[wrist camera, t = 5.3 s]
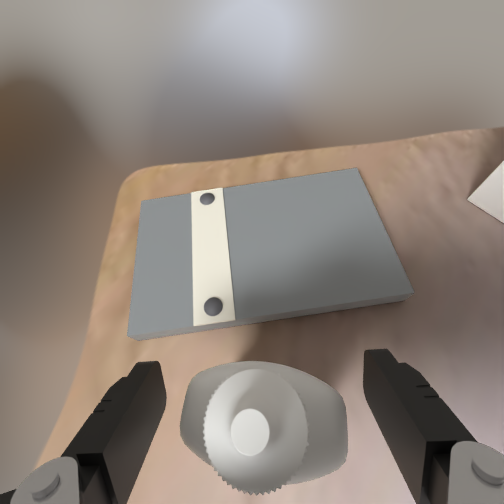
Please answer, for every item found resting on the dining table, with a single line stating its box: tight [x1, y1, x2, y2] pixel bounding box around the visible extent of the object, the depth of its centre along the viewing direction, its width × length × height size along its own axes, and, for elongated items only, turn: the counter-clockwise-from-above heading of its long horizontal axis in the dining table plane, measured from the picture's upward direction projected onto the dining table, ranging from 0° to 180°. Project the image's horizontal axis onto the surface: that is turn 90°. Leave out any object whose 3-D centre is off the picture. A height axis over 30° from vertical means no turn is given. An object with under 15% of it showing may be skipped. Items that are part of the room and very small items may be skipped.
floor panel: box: [127, 168, 415, 341], centre depth 20 cm, size 18×11×2 cm, turn 97°
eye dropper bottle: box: [180, 361, 348, 495], centre depth 10 cm, size 4×6×12 cm
